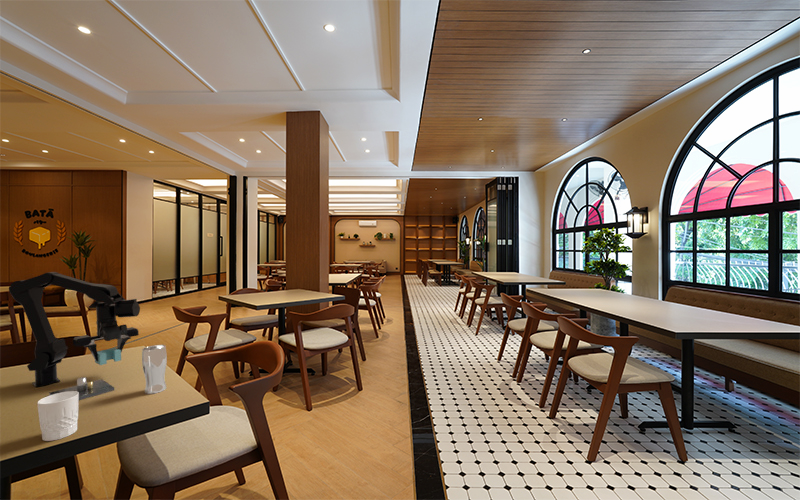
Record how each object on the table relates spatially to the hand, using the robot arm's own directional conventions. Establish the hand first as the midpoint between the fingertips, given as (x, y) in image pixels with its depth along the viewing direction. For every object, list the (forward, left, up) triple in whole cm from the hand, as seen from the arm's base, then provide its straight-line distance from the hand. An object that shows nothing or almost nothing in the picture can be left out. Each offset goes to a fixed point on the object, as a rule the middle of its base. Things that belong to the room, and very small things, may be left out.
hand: (108, 358), depth 134 cm
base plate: (+11, -10, -7) cm, 17 cm away
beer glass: (+31, +5, -7) cm, 32 cm away
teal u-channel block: (0, 0, -1) cm, 1 cm away
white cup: (+42, -21, -7) cm, 47 cm away
